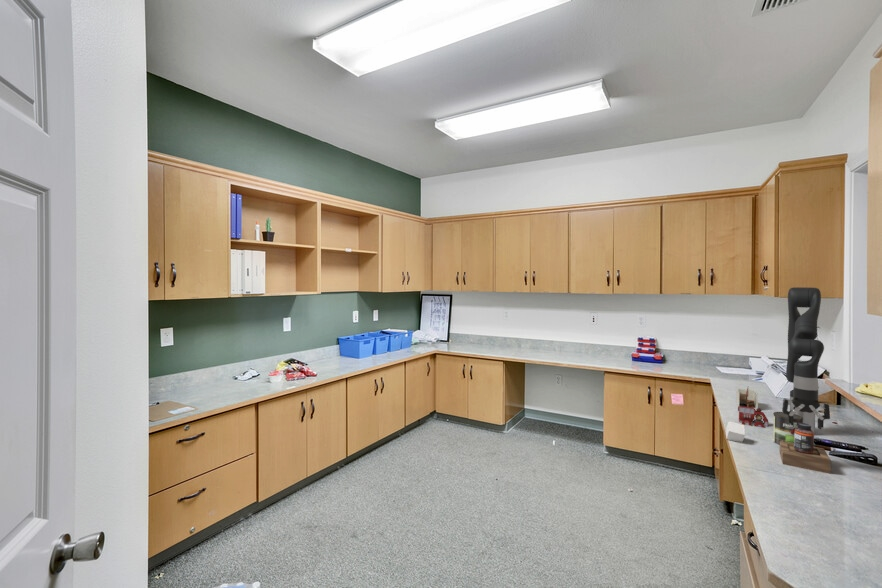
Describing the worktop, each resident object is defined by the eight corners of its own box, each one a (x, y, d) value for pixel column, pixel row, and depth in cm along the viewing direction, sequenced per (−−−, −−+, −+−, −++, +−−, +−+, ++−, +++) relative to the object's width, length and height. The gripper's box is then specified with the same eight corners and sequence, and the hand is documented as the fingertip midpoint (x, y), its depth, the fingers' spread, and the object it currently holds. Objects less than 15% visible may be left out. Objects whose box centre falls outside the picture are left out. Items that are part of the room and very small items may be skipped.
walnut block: (779, 453, 171) (779, 440, 171) (823, 462, 163) (823, 448, 163) (782, 465, 160) (782, 451, 160) (830, 475, 152) (830, 460, 152)
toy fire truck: (769, 432, 197) (769, 411, 197) (738, 427, 204) (738, 407, 204) (767, 428, 203) (767, 408, 203) (737, 423, 210) (737, 404, 210)
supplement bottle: (807, 449, 164) (808, 422, 164) (817, 455, 158) (818, 427, 158) (790, 447, 165) (791, 421, 165) (799, 453, 159) (801, 425, 159)
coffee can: (807, 451, 173) (808, 419, 173) (779, 448, 176) (779, 417, 176) (796, 443, 183) (796, 412, 182) (768, 440, 186) (769, 410, 186)
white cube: (741, 433, 186) (744, 425, 183) (741, 443, 182) (745, 435, 179) (725, 429, 189) (728, 421, 186) (726, 439, 185) (728, 431, 182)
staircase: (738, 413, 227) (738, 385, 227) (736, 409, 237) (736, 381, 237) (757, 416, 223) (757, 387, 223) (754, 411, 232) (754, 383, 232)
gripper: (826, 387, 161) (826, 427, 161) (781, 383, 168) (780, 420, 168) (832, 391, 154) (832, 432, 154) (785, 386, 162) (784, 426, 162)
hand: (805, 426), depth 161 cm, fingers open, 8 cm apart
